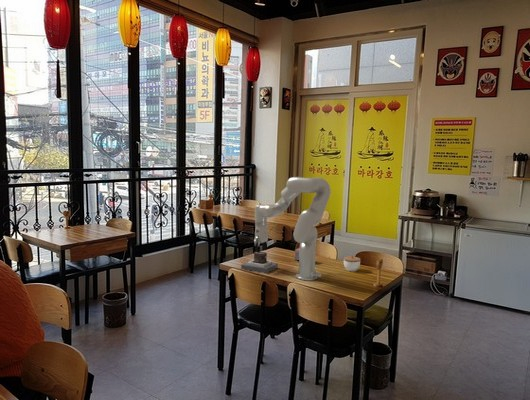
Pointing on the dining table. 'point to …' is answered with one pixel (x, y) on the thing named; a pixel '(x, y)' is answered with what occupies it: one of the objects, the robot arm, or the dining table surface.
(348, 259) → the lidded jar
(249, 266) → the grey flat block
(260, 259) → the box
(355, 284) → the dining table surface
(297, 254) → the food item
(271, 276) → the dining table surface
